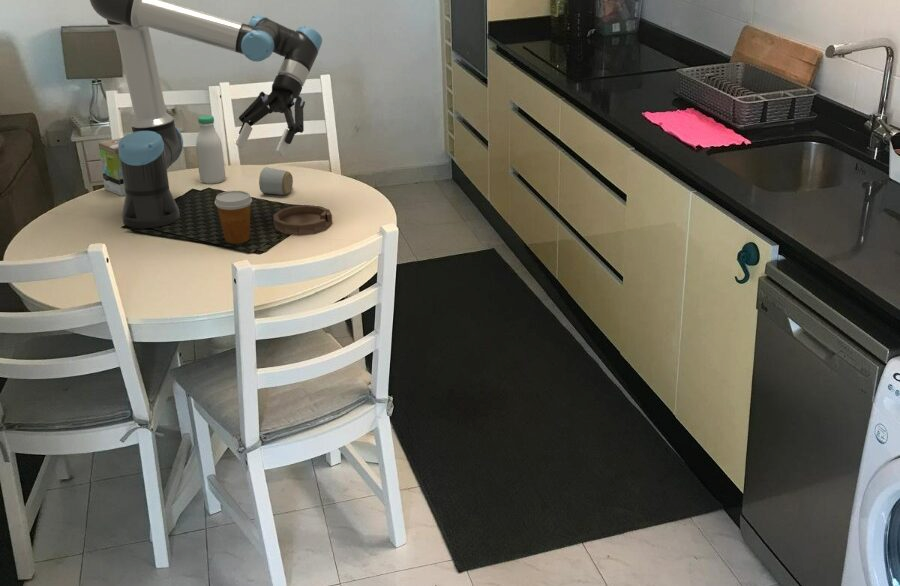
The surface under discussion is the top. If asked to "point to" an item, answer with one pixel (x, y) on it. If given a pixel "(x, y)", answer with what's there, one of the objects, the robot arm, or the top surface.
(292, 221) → the round brown ashtray
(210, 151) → the milk bottle
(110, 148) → the tea box
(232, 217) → the disposable coffee cup
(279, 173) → the ceramic mug
